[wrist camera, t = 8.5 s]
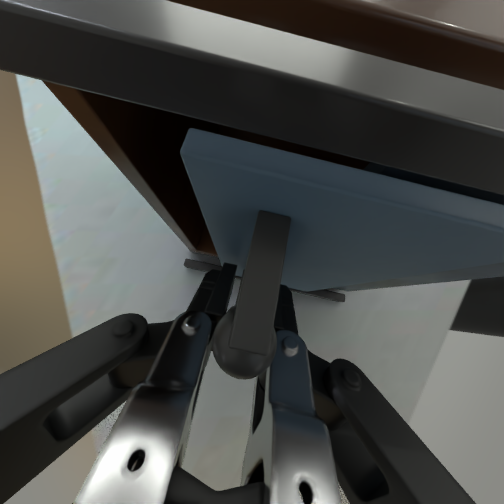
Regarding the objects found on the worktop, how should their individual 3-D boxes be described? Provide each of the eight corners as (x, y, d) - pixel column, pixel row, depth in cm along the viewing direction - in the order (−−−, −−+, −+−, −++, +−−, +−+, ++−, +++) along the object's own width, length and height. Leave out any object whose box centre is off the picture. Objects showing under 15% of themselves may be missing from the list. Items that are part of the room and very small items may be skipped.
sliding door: (308, 285, 16) (577, 221, 3) (301, 338, 15) (682, 547, 2) (225, 266, 16) (188, 124, 3) (212, 319, 15) (65, 425, 2)
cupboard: (348, 198, 21) (683, -111, 5) (340, 302, 17) (1151, 300, 2) (217, 166, 20) (161, -270, 5) (185, 267, 17) (-296, -75, 2)
